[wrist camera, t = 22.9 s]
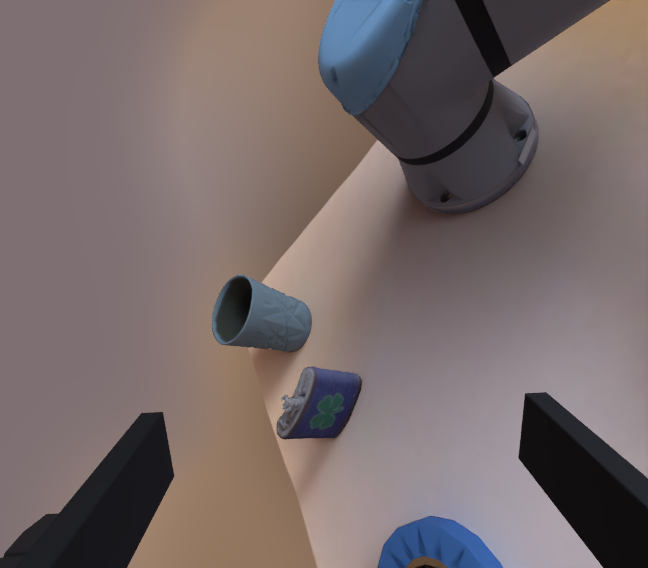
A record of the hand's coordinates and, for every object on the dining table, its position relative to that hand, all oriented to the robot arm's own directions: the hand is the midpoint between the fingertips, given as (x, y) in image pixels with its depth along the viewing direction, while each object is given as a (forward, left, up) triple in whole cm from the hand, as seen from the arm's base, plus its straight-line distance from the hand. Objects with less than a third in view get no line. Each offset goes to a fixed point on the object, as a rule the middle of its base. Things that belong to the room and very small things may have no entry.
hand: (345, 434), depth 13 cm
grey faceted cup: (-26, -25, -27) cm, 45 cm away
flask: (-10, -20, -27) cm, 35 cm away
